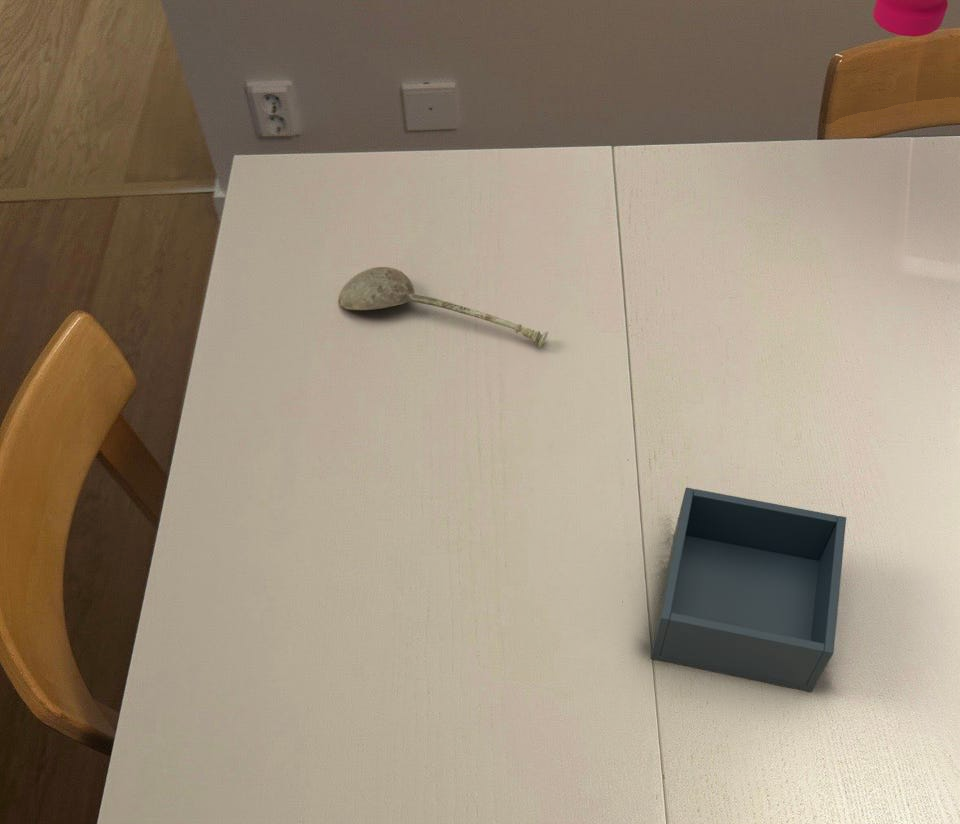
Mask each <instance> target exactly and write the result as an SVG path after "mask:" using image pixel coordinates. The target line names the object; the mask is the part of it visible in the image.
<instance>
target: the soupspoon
mask: <svg viewBox="0 0 960 824" xmlns="http://www.w3.org/2000/svg"><path fill="white" fill-rule="evenodd" d="M412 283H413V282H412V281H411V279H410V278H409V276H407V275H406V274H405V273H404V272H403V271H401V270H399V269H397V268H394V267H389V266H378V267H377V266H376V267H371V268H367V269H365V270H363V271H361V272H358V273H357V274H356V275H353V277H352V278H350V279H349V280H348V281H347V282H346V283H345V284H344V285H343V287H342V288H341V290H340V293H339V295H338V304H339V306H340V307H341V308H342V309H345V310H349V311H373V310H380V309H386V308H390V307H395V306H399V305H404V304H406V303H410V302H413V303H419V304H424V305H428V306H434V307H436V308H441V309H445V310H449V311H453V312H456V313H459V314H463V315H467V316H471V317H474V318H476V319H480V320H483V321H487V322H490V323H493V324H495V325H499V326H503V327H504V328H509V329H511V330H513V331H514V332H515V333H516V334H518V333H521V334H522V336H524V337H525V338H528V339H529V340H532V342H533V343H538V349H541V348H542V346H543V345H544V343H545V342H546V339H547V337H548V334H549V332H548V331H547V330H545V332H544V333H541V331H540V330H536V331H535V329H531V328H530V327H523V325H522V323H519V324H517V323H514V322H512V321H509V320H506V319H504V318H501V317H498V316H495V315H492V314H488V313H486V312H483V311H479V310H476V309H473V308H469V307H466V306H462V305H459V304H455V303H452V302H449V301H445V300H442V299H439V298H435V297H432V296H431V297H430V296H426V295H422V294H417V293H416V292H415V289H414V284H412Z"/></svg>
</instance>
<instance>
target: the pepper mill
mask: <svg viewBox="0 0 960 824" xmlns="http://www.w3.org/2000/svg"><path fill="white" fill-rule="evenodd" d="M948 7H949V2H948V0H876V1H875V3H874V6H873V11H872V16H873V19H874V22H875V23H876V24H877V25H878V26H879V27H880V28H882V29H884V30H885V31H886V32H888V33H891V34H894V35H897V36H901V37H902V36H903V37H911V38H912V37H923V36H927V35H930V34H932V33H934V32H936V31H937V30H939V28H940V27H941V26H942V23H943V21H944V18H945V15H946V13H947V10H948Z"/></svg>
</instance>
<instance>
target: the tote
mask: <svg viewBox="0 0 960 824" xmlns="http://www.w3.org/2000/svg"><path fill="white" fill-rule="evenodd" d="M846 525H847V516H843V515H836V514H831V513H825V512H820V511H815V510H810V509H805V508H798V507H794V506H788V505H782V504H778V503H772V502H767V501H762V500H757V499H751V498H746V497H740V496H735V495H730V494H723V493H718V492H714V491H713V492H712V491H708V490H704V489H703V490H702V489H699V488H697V489H696V488H693V487H685V490H684V493H683V496H682V502H681V504H680V509H679V513H678V517H677V521H676V525H675V530H674V533H673V538H672V545H671V550H670V554H669V558H668V565H667V569H666V575H665V580H664V585H663V590H662V594H661V601H660V605H659V610H658V616H657V620H656V626H655V631H654V637H653V640H652V641H653V642H652V647H651V652H650V656H649V658H650V659H651V660H656V661H661V662H667V663H671V664H676V665H680V666H685V667H690V668H695V669H700V670H704V671H708V672H709V671H710V672H713V673H718V674H724V675H729V676H731V677H732V676H733V677H738V678H742V679H747V680H751V681H757V682H761V683H767V684H770V685H776V686H780V687H786V688H790V689H795V690H801V691H805V692H810V693H812V692H813V691H814V689H815V687H816V685H817V684H818V683H819V680H820V678H821V677H822V675H823V673H824V672H825V669H826V667H827V666H828V664H829V663H830V660H831V658H832V657H833V655H834V651H835V643H836V633H837V632H836V631H837V619H838V611H839V598H840V589H841V579H842V578H841V577H842V569H843V559H844V558H843V556H844V547H845V535H846Z"/></svg>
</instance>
